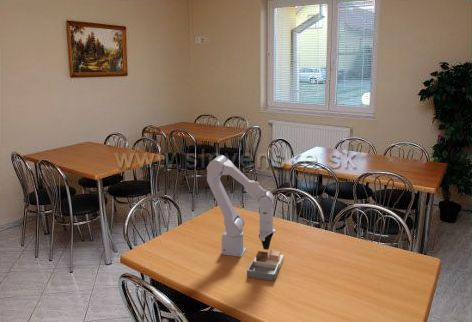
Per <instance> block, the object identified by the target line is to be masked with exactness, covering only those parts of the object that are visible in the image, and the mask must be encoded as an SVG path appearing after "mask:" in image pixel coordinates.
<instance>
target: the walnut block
mask: <svg viewBox="0 0 472 322" xmlns="http://www.w3.org/2000/svg"><path fill="white" fill-rule="evenodd" d="M268 253H269V252H268V251H260V250H258V251H257V253H256V254H255V257H256V261H261V262H266V260H267V258H268Z"/></svg>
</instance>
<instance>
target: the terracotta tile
mask: <svg viewBox="0 0 472 322" xmlns="http://www.w3.org/2000/svg"><path fill="white" fill-rule="evenodd" d="M269 253H270V254H269V260H271V261H279V259H280V255H281V251H279V250H278V251H277V250H270V251H269Z"/></svg>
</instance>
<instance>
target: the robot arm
mask: <svg viewBox="0 0 472 322" xmlns="http://www.w3.org/2000/svg"><path fill="white" fill-rule="evenodd" d="M207 164H208V165H207V167H206V171H207V173H206V181H207V184H208V187H209V188H210V191H211V192H212V194H213V196H214V199H215V201H216V203H217V204H218V205H217V206H218V207H219V209H220V211H221V214H222V216H223V224H224V230H225V231H224V232H223V233H222V234H221V241H220V242H221V252H220V253H221V255H226V256H232V257H233V256H234V257H240V258H241V257H242V256H243V255H244V253H245V252H246V250H247V247H244V231H243V228H244V226H245V220H244V219H243V217H242V216H241V215H240V214H239V212H237V211H236V210H235V208H234V206H233V205H232V202H231V200H230V198H229V196H228V193H227V191H226V189H225V187H224V185H223V183H222V180H221V177H222V176H231V177H232V178H233V179H234V180H236V181H237V182H238V183H240V184H241V185H242V186H243V187H244V192H246V193H248V195H250V196H251V197H252V199H254V200H256V201H257V205H258V207H259V229H258V231H259V234H258V238H259V241H261V245H262V247H263V250H265V251H266V250H267V251H268V250H269V249H270V246H271V245H270V244H271V240H272V238H273V235H274V233H276V231H277V230H276V229H275V228H274V225H273V224H274V220H273V219H274V207H273V202H274V200H275V196H274V194H273V193H272V191H269V190H267V189H264V188H263V187H262V186H261V185H260V184H259V183H260V182H259V181H257V180H256V181H255V180H253V179H252V180H250V179H249V178H248V177H247V176H246V175H245V174H244V173H242V171H241V170H240V169H239V168H238V167H237V166H236V165H235V164H234V163H233V162H232V161H231V160H230V159H229V158H228V157H227V156H225V155H223V154H219V155H218V156H216V157H215V158H214V159H212V160H211V161H209V163H207Z"/></svg>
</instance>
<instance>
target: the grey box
mask: <svg viewBox="0 0 472 322" xmlns="http://www.w3.org/2000/svg"><path fill="white" fill-rule="evenodd" d="M279 271H280V269H279V263H278V264H277V266H276V269H275V268H268V267H261V266H254V259H252V261H251V262H250V264H249V266H248V268H247V269H246V276H247V278H249V279H256V280H263V281H269V282H275V281H276V278H277V275H278V274H279Z"/></svg>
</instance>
